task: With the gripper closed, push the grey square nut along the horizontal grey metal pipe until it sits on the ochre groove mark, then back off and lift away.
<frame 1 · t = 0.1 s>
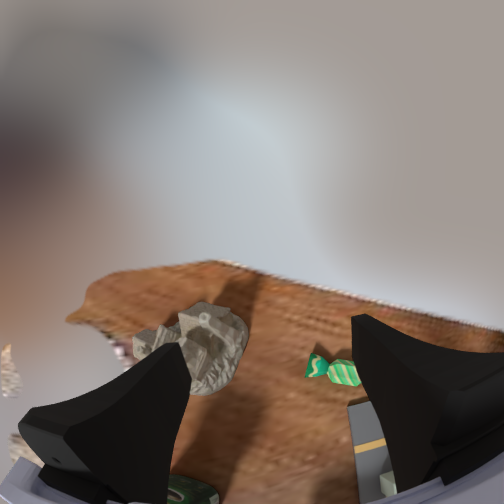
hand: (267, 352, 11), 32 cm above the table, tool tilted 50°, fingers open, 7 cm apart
pipe rig: (393, 449, 29), on the table
coffee jar: (191, 497, 30), on the table
grey square nut: (408, 480, 22), point 6 cm above the table, slide at 0.0 cm
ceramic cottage: (197, 349, 44), on the table
candy: (345, 374, 38), on the table
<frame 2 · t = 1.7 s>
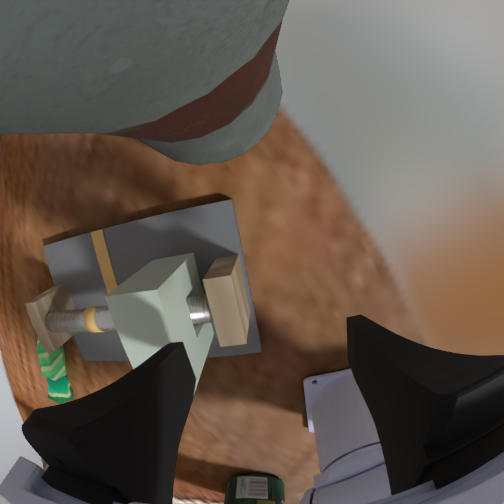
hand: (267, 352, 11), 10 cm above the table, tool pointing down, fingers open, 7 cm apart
pipe rig: (141, 294, 22), on the table
coffee jar: (255, 485, 29), on the table
grey square nut: (169, 319, 16), point 6 cm above the table, slide at 0.0 cm
bottle: (215, 106, 18), on the table
candy: (60, 348, 25), on the table
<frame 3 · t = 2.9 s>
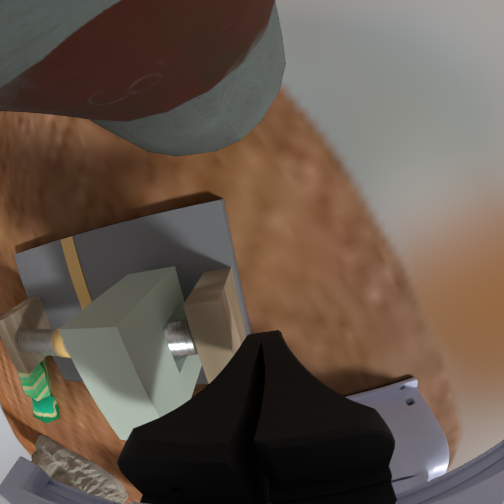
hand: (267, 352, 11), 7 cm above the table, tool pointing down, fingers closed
pipe rig: (120, 311, 18), on the table
grey square nut: (145, 351, 12), point 6 cm above the table, slide at 0.0 cm
bottle: (203, 87, 15), on the table
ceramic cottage: (83, 471, 27), on the table
candy: (43, 365, 21), on the table
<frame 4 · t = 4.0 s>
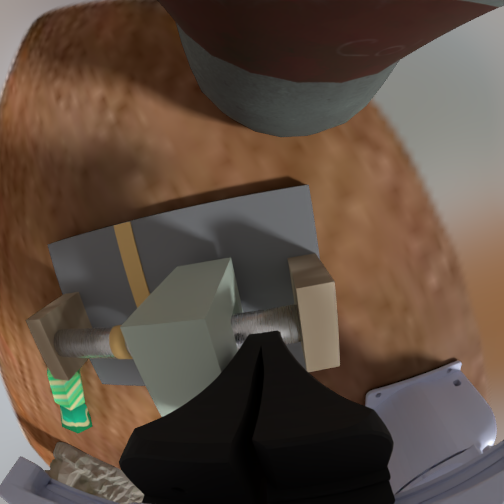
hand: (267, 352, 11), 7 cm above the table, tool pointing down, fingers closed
pipe rig: (180, 304, 18), on the table
grey square nut: (205, 347, 12), point 6 cm above the table, slide at 1.7 cm, touching gripper
bottle: (281, 73, 14), on the table
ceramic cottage: (104, 478, 27), on the table
candy: (75, 370, 21), on the table
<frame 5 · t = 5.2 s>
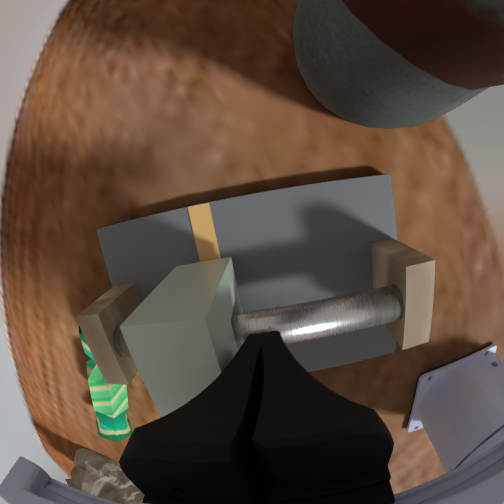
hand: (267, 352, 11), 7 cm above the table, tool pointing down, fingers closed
pipe rig: (255, 293, 17), on the table
grey square nut: (204, 347, 12), point 6 cm above the table, slide at 6.6 cm, touching gripper
bottle: (358, 68, 14), on the table
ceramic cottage: (128, 483, 26), on the table
candy: (116, 372, 20), on the table
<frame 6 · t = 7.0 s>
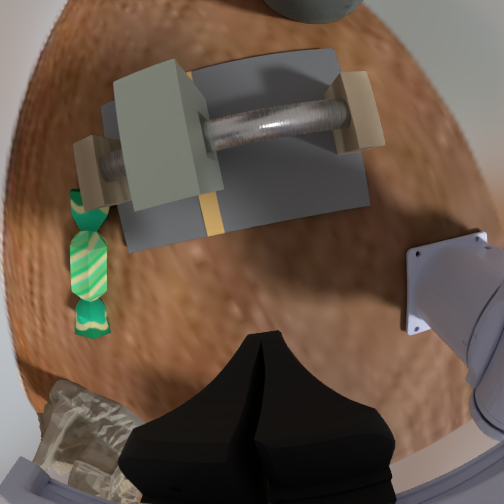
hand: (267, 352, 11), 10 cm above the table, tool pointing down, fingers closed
pipe rig: (228, 144, 19), on the table
grey square nut: (175, 141, 14), point 6 cm above the table, slide at 6.6 cm
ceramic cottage: (106, 428, 28), on the table
candy: (100, 258, 22), on the table
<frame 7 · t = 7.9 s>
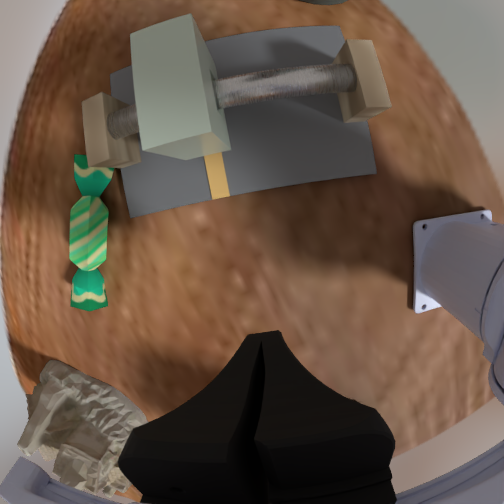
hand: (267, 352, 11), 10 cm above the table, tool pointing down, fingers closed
pipe rig: (235, 110, 18), on the table
grey square nut: (186, 95, 13), point 6 cm above the table, slide at 6.6 cm
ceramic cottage: (97, 414, 27), on the table
candy: (100, 228, 21), on the table
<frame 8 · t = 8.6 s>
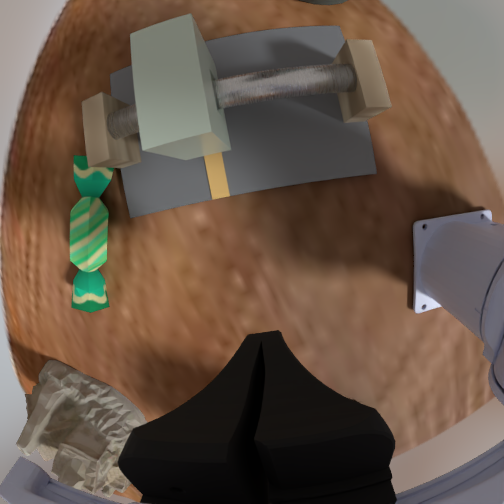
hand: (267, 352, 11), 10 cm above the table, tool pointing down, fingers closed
pipe rig: (235, 110, 18), on the table
grey square nut: (186, 95, 13), point 6 cm above the table, slide at 6.6 cm
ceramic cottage: (96, 414, 27), on the table
candy: (100, 229, 21), on the table
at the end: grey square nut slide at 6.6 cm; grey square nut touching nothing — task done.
